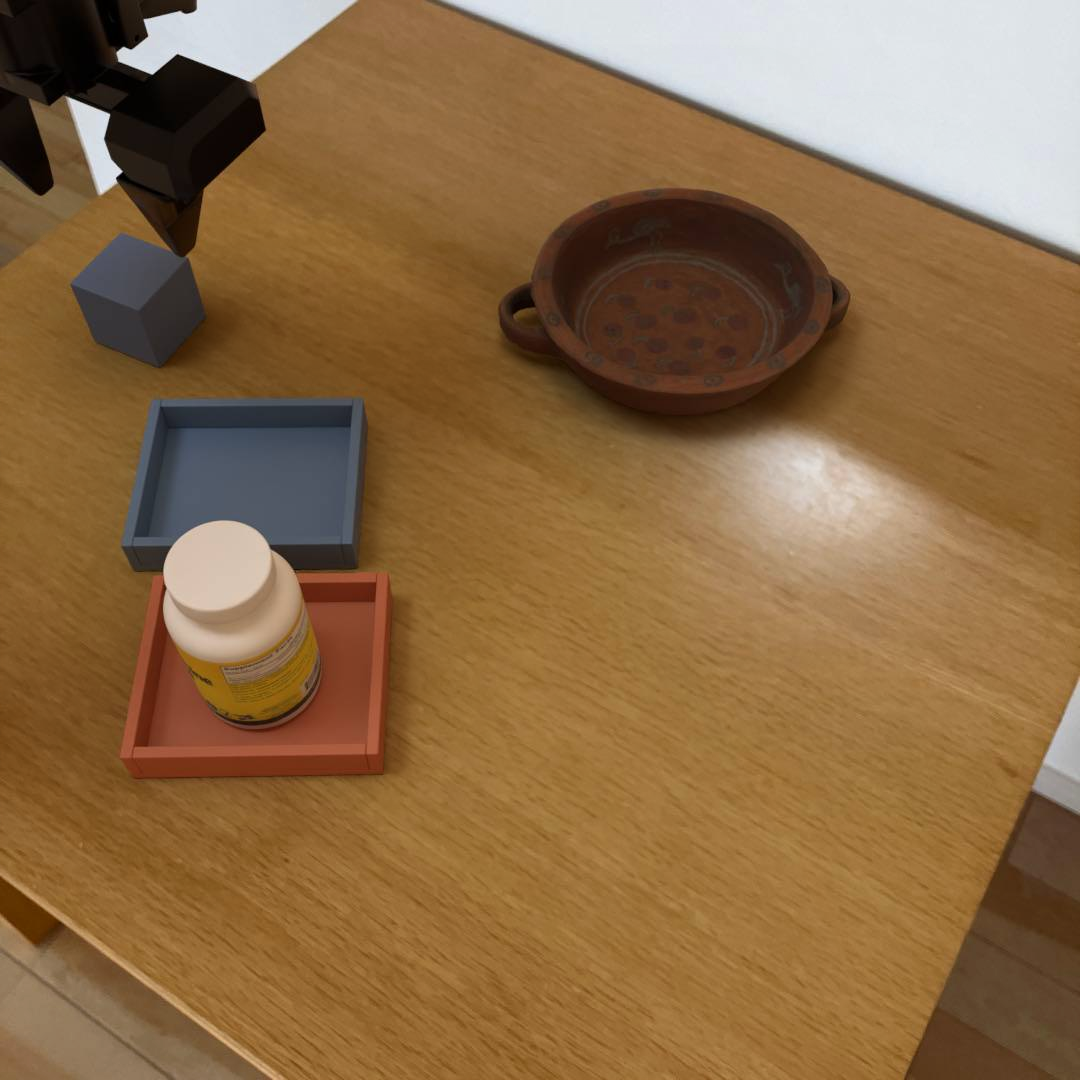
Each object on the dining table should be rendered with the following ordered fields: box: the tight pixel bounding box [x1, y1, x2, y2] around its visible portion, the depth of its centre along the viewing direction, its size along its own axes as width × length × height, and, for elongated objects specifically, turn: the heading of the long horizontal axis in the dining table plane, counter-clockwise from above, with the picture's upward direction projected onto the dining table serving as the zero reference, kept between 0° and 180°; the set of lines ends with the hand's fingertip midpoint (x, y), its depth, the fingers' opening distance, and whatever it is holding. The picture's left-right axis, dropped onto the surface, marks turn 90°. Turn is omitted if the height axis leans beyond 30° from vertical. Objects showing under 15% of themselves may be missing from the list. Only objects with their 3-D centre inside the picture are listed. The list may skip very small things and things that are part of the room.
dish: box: [497, 187, 851, 416], centre depth 72 cm, size 18×22×5 cm
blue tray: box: [120, 397, 369, 572], centre depth 65 cm, size 12×10×2 cm
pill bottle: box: [162, 521, 322, 729], centre depth 55 cm, size 6×6×11 cm
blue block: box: [69, 232, 207, 369], centre depth 71 cm, size 5×5×5 cm
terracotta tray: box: [119, 572, 393, 779], centre depth 59 cm, size 12×10×2 cm
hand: (114, 220), depth 59 cm, fingers open, 9 cm apart
